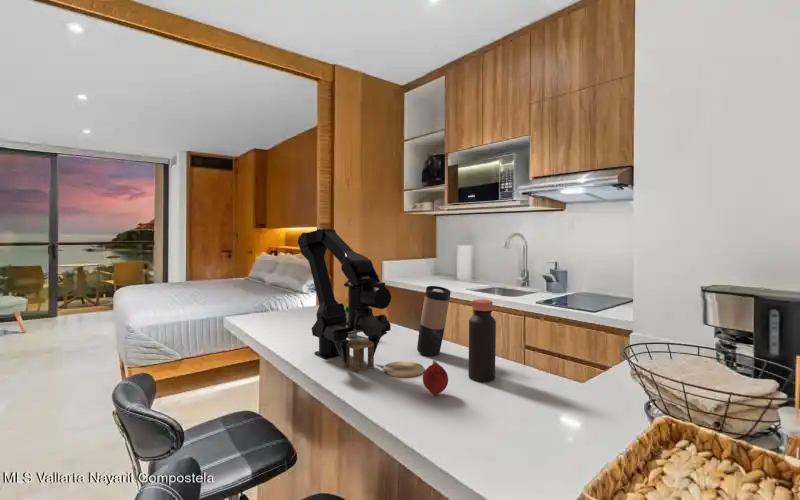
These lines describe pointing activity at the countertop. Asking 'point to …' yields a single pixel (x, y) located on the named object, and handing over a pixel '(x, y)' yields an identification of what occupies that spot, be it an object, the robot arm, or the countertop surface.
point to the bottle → (482, 342)
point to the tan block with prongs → (360, 353)
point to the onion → (435, 378)
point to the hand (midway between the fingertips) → (358, 359)
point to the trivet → (403, 369)
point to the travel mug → (433, 320)
